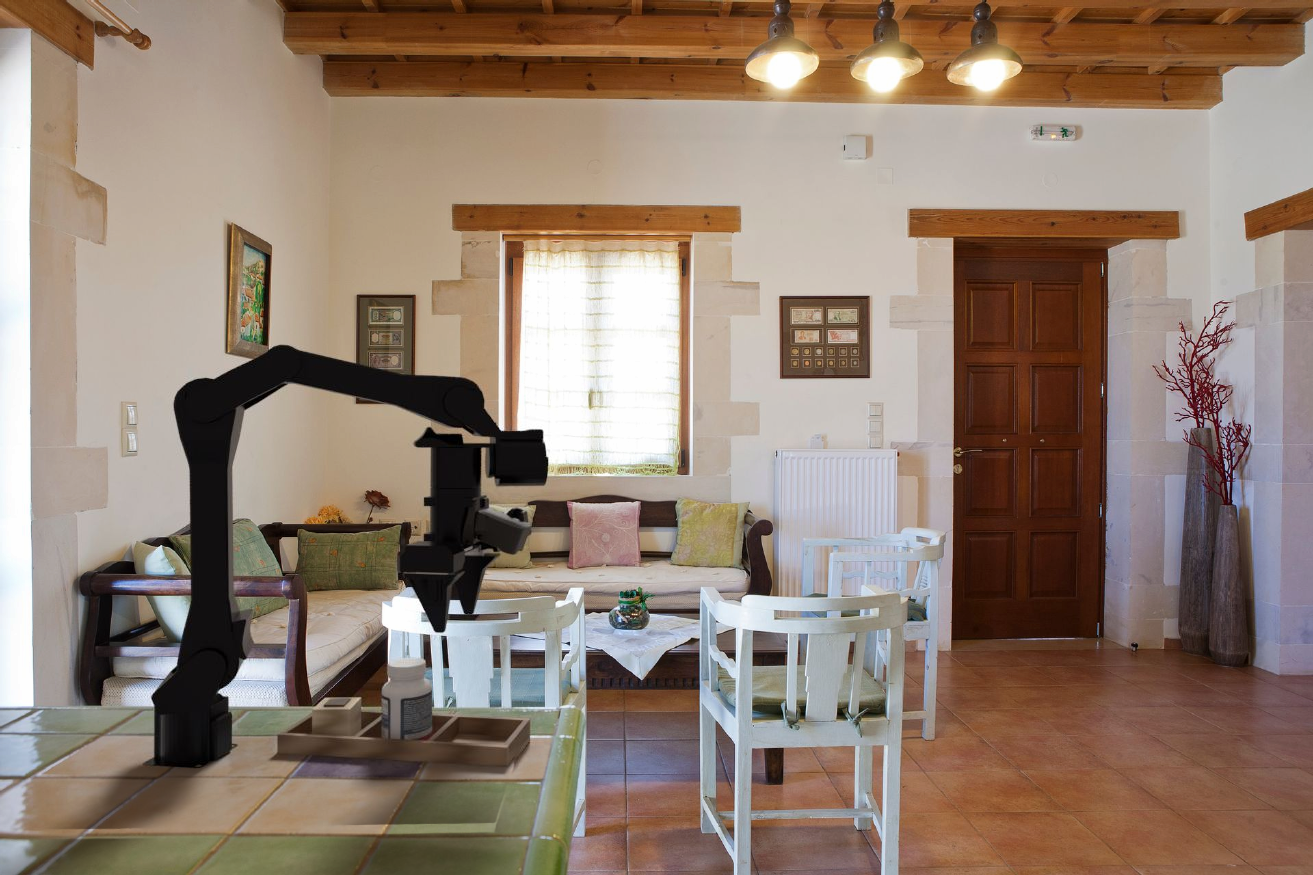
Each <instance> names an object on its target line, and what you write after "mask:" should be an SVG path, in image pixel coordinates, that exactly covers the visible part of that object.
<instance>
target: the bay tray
mask: <svg viewBox="0 0 1313 875" xmlns="http://www.w3.org/2000/svg"><path fill="white" fill-rule="evenodd" d="M276 735H277V738H276V742H277V743H276V744H277V745H276V746H277V747H276V750H277V752H276V753H277V754H290V755H306V756H321V757H322V756H323V757H337V758H338V757H340V758H355V759H371V760H372V759H373V760H388V761H389V760H390V761H391V760H392V761H406V762H421V763H437V764H452V765H453V764H455V765H468V766H469V765H473V766H485V767H486V766H490V767H501V768H502V767H508V766H509V765H510V763H511V762H512V760H513V762H512V764H514V763H515V762H516V760H517V759H518V758H519V757H520V755H521V754H522V753H523V752H524V750H525V748H526V747H527V746H528V745H529V743H530V742H529V741H531V718H528V717H527V718H525V717H506V716H487V715H469V714H468V715H467V714H466V715H465V714H450V713H449V714H448V713H433V712H432V737H431V738H430V739H429V740H428V741H422V740H404V739H387V738H382V710H376V709H375V710H374V709H371V710H370V709H361V731H360V732H359V733H357V734H356V735H355V736H353V737H352V736H334V735H316V734H312V712H311V713H310V714H308V715H306V716H304V717H302V719H300V720H299V721H297V722H295V723H293V724H292V725H290V726H288V727H287V728H286V729H285V728H284V730H282V731H280V732H279V733H277V734H276ZM528 742H529V743H528ZM526 745H527V746H526ZM521 752H522V753H521Z"/></svg>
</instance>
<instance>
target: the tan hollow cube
mask: <svg viewBox="0 0 1313 875" xmlns="http://www.w3.org/2000/svg"><path fill="white" fill-rule="evenodd" d="M361 710H362V697H361V696H359V697H358V696H357V697H356V696H355V697H324V698H323V699H322V700H321V701H320V702H319V703H317V704H316V705H315V706H314V707H313V708H312V709H311V713H312V734H316V735H334V736H352V737H353V736H355V735H356V734H357V733H359V732H360V731H361Z"/></svg>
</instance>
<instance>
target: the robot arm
mask: <svg viewBox="0 0 1313 875" xmlns="http://www.w3.org/2000/svg"><path fill="white" fill-rule="evenodd" d="M287 385H296V386H297V385H298V386H303V387H307V388H311V389H316V390H321V391H326V392H330V393H334V394H338V395H344V396H348V397H353V398H357V399H362V400H367V401H371V402H376V403H380V404H385V405H389V406H392V407H393V406H395V407H396V408H398V409H402V410H404V411H405V412H409V413H411V414H413V415H416V416H418V417H420V418H424V419H425V420H427V421H431V422H433V423H435V424H437V425H440V426H442V427H446V428H448V429H449V428H450V429H462V430H464V431H466V432H467V433H469V434H471V435H472V436H473V437H479V438H480V437H482V438H484V437H485V438H489V442H464V436H463V434H462V433H441V432H440V433H437V432H436V431H434V429H433V428H432V427H431V426H427V427H426V428H425V429H424V432H423V433H422V434H421V435H420V436H419V437H418V438H417V439H415V440H414V441H413V442H412V443H413V446H414V447H415V448H418V449H419V448H421V449H427V448H428V449H429V448H430V472H429V473H430V476H429V477H430V482H429V483H430V486H429V487H430V488H429V490H430V491H429V493H430V494H429V496H424V497H423V507H429V511H430V512H429V531H427V532H424V533H423V540H417V541H414V542H411V543H409V544H405V545H404V546H403V547H402V548H401V549H400V550H399V551H398V552H397V554H396V556H397V557H396V558H397V560H396V571H397V572H398V573H402V576H403V578H404V579H407V581H408V583H409V584H410V586H411V588H412V590H413V592H414V593H415V595H416V597H417V599H418V601H419V602H420V605H421V606H422V609H423V611H424V613H425V615H426V617H427V619H428V622H429V624H430V625H431V627H432V628H431V629H432V630H433V631H434V633H436V634H437V633H439V634H443V633H445V632H446V629H447V623H448V617H449V612H450V603H451V596H452V590H453V585H455V586H454V587H455V589H456V592H457V597H458V600H459V603H460V605H461V609H462V611H463V614H464V615H466V616H468V615H470V616H471V615H473V614H475V609H476V606H477V603H478V600H479V595H480V591H481V588H482V585H483V580H484V577H485V574H486V571H487V569H488V567H490V566H491V564H493V563H494V562H495V561H496V560H497V559H498V558H500V556H501V554H502V553H504V554H507V555H516V554H518V552H523V550H524V548H525V546H526V542H527V540H528V537H529V536H531V534H532V533H533V531H532V529H531V528H532V525H533V523H532V522H529V515H528V510H525V509H523V508H522V507H518V506H516V507H512V508H511V509H510V510H509V511H507V512H506V513H504V511H501V510H500V511H497V510H494V509H493V508H490V498H489V497H487V496H488V495H487V494H482V449H483V448H484V449H485V454H484V459H485V460H484V468H485V470H484V471H485V476H486V478H487V479H492V478H493V480H494V483H495V487H544V486H546V483H547V481H548V474H549V456H547V449H546V442H545V440H544V430H543V429H542V428H529V429H524V430H501V428H499V426H498V425H497V422H496V421H495V420H494V419H493V418H492V417H491V415H490V414H489V412H488V411H487V410H486V409H485V402H486V401H485V396H484V392H483V391H482V390H481V388H480V387H479V385H478V384H477V383H476V382H475V381H473V380H471V379H469V378H467V377H462V376H448V375H447V376H446V375H434V374H433V375H432V374H431V375H430V374H429V375H427V374H407V373H406V374H404V373H399V372H395V371H390V370H385V369H382V368H378V367H374V366H369V365H366V364H361V363H357V362H353V361H348V360H343V359H338V358H335V357H331V356H326V355H322V354H318V353H314V352H308V351H304V350H300V349H298V348H296V347H295V346H292V345H288V344H277V345H274V346H273V347H271V348H269V349H268V350H267V351H266V352H264V353H263V354H260V355H259V356H257V357H255V358H253V359H250V360H249V361H246V362H244V363H242V364H240V365H238V366H236V367H234V368H232V369H229V370H227V371H226V372H224V373H222V374H220V375H219V376H216V377H215V378H210V377H200V378H194V379H193V380H190V381H188V382H186V383H185V384H184V385H183V386H181V387H180V389H178V390H177V392H176V394H175V396H174V399H173V403H172V405H173V412H174V417H175V421H176V426H177V431H178V435H179V436H178V437H179V440H180V443H181V446H182V449H183V452H184V454H185V455H184V456H185V457H186V461H187V464H188V468H189V537H190V538H189V539H190V540H189V541H190V543H189V546H190V550H189V552H190V554H189V556H190V557H189V558H190V604H189V608H188V612H187V616H186V619H185V622H184V627H183V631H182V634H181V640H180V644H179V652H178V656H177V662H176V665H175V667H173V668H172V670H171V671H169V673H168V674H167V675H166V676H165V678H164V679H163V680H162V681H161V683H160V684H159V685H158V686H157V688H156V689H155V690H154V691H153V693H152V694H151V696H150V698H151V702H152V704H153V720H154V721H153V757H152V758H150V759H147V760H146V761H143V763H142V765H143V766H154V767H170V768H184V769H186V768H187V769H200V768H203V767H205V766H206V765H208V764H210V763H211V762H213V761H217V760H219V759H220V758H222V757H223V756H225V755H227V754H229V753H230V752H231V751H232V750H233V749H235V748H237V747H238V746H239V745H238V744H237V743H233V713H232V712H231V711H229V710H230V709H229V708H230V705H229V703H230V702H229V698H230V697H229V696H226V695H225V696H223V695H222V694H221V693H219V691H220V690H222V689H224V688H225V687H227V686H229V685H230V683H232V682H233V681H234V680H235V678H237V677H236V676H237V675H238V673H239V671H240V669H241V667H242V664H243V662H244V661H245V660H247V659H248V657H249V655H250V653H251V651H252V649H253V647H254V644H255V642H254V639H253V637H252V632H251V626H252V625H251V624H252V620H253V611H254V610H253V608H248V609H244V610H240V608H239V606H238V603H237V599H236V596H235V588H234V585H235V584H234V583H235V582H234V581H235V580H234V579H235V578H234V573H235V572H234V507H233V506H234V505H233V504H234V501H233V500H234V498H233V497H234V496H233V494H234V492H233V485H234V484H233V483H234V482H233V466H234V461H235V458H236V453H237V449H238V445H239V441H240V437H241V432H242V428H243V421H244V416H245V411H247V410H249V409H250V408H252V407H254V406H255V405H258V404H260V402H262V401H263V400H265V399H267V398H268V397H269V396H272V395H273V394H274V393H276V392H278V391H279V390H281V389H282V388H285V387H286V386H287ZM491 550H492V551H493V552H490V551H491ZM500 552H502V553H500Z"/></svg>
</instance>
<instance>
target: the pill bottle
mask: <svg viewBox="0 0 1313 875" xmlns="http://www.w3.org/2000/svg"><path fill="white" fill-rule="evenodd" d="M426 662H427V661H426V660H425V659H424V658H421V657H402V658H396V659H393V660H390V661H389V662H388V663H387V668H386V669H387V671H386V672H387V674H386V675H387V678H389V679H390V680H388V681H387V682H385V683H384V685H383V686H382V687H381V711H382V738H387V739H404V740H422V741H428V740H429V739H430V738H431V737H432V713H433V686H432V682H431V681H430V680H429V679H427V678H425V676H426V674H427V669H426V668H427V663H426Z"/></svg>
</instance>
